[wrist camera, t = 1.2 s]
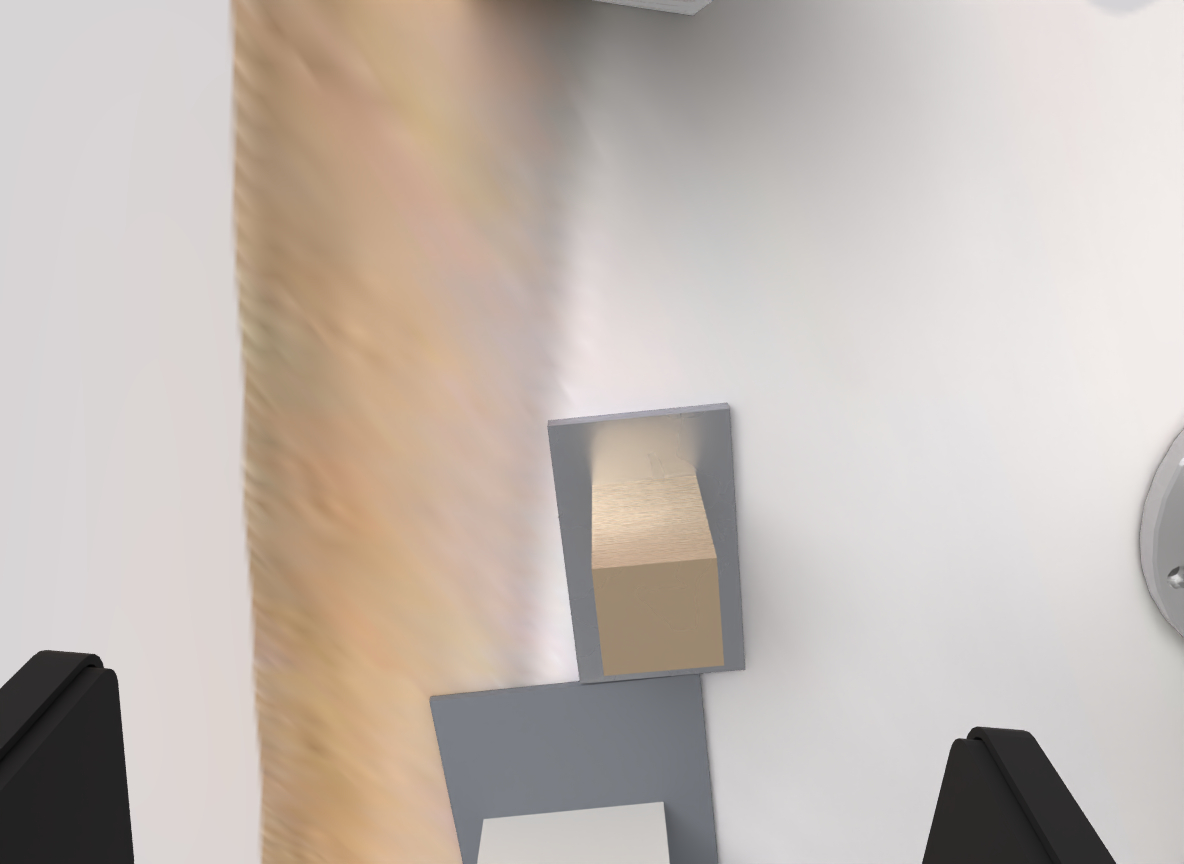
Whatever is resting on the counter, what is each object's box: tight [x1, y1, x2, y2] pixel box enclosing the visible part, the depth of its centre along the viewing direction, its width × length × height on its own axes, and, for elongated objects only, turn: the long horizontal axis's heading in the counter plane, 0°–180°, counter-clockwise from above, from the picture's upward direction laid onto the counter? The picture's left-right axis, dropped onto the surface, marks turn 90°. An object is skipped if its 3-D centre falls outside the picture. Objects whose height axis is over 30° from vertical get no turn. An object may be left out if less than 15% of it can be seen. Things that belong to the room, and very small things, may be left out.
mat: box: [429, 673, 718, 864], centre depth 38 cm, size 10×12×1 cm
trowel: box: [547, 403, 745, 684], centre depth 31 cm, size 10×6×7 cm, turn 6°
